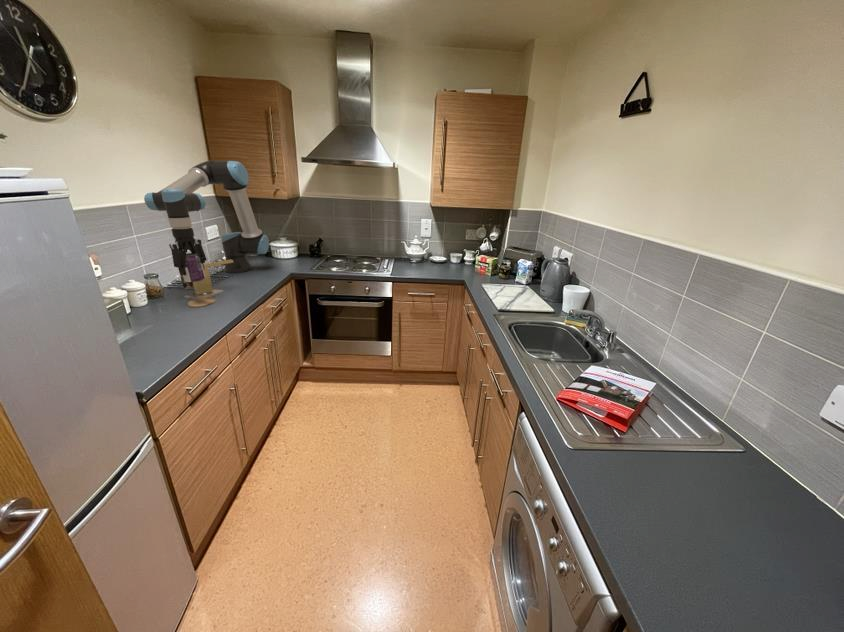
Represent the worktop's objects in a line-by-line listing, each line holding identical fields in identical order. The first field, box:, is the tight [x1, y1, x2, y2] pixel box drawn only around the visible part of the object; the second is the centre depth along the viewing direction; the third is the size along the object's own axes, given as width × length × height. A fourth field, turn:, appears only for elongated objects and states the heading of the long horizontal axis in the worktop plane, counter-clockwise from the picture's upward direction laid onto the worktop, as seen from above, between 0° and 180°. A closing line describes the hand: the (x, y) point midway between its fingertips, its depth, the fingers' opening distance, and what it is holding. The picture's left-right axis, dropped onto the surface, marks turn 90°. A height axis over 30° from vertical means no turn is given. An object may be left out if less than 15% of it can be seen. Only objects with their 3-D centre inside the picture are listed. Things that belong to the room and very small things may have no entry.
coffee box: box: [177, 267, 195, 291], centre depth 168 cm, size 9×6×16 cm
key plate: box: [184, 288, 225, 300], centre depth 161 cm, size 12×12×1 cm
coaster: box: [187, 297, 216, 308], centre depth 151 cm, size 11×11×1 cm
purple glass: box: [185, 252, 205, 282], centre depth 144 cm, size 7×7×12 cm
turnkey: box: [193, 259, 233, 294], centre depth 163 cm, size 3×20×14 cm, turn 143°
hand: (195, 279), depth 146 cm, fingers closed on purple glass, 7 cm apart
